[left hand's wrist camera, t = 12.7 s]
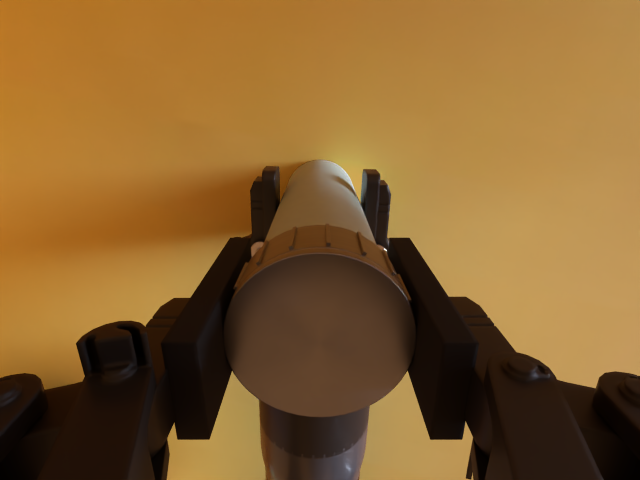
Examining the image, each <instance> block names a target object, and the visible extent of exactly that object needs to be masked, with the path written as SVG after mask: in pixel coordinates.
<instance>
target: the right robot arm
mask: <svg viewBox="0 0 640 480" xmlns="http://www.w3.org/2000/svg"><path fill="white" fill-rule="evenodd" d="M250 196H251V221H252V234H251V235H249V236H246V237H243V238H250V240H251V254H252V257H253V256H254V254H255V253H256V252H257V251H258V250H259V249H260V248H261V247H262V246H263V244H264V242H265V239H266V237H267V234H268V232H269V229H270V227H271V224H272V222H273V219H274V217H275V214H276V212H277V209H278V207H279V204H280V173H279V167H277V166H266V167H265V168H264V170H263V172H262V177H257V178H256V179H255V181H254V182H253V185H252V187H251V190H250ZM390 200H391V193H390V190H389V187H388V185H387V183H386V182H385V181H384V180H380V174H379V172H378V171H377V170H376V169H363V175H362V189H361V207H362V210H363V212H364V215H365V217H366V220H367V222H368V225H369V227H370V230H371V232H372V235H373V237H374V240H375V242H376V245H377V246H378V247H379V248H380V249H381V250H383V249H384V250H385V251H386V253H387V255H388V251H389V239H388V238H387V231H388V221H389V210H390ZM234 238H241V237H234ZM259 409H260V434H261V449H262V455H263V460H264V464H265V470H266V480H359V476H360V468H361V464H362V461H363V457H364V453H365V447H366V438H367V427H368V417H369V406H368V407H366V408H363V409H361V410H358V411H355V412H352V413H348V414H345V415H339V416H332V417H308V416H300V415H296V414H291V413H287V412H285V411H282V410H279V409H276V408H274V407H272V406H270V405H268V404H266V403H265V402H263V401H261V400H260V399H259Z"/></svg>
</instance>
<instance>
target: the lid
mask: <svg viewBox="0 0 640 480" xmlns="http://www.w3.org/2000/svg"><path fill="white" fill-rule="evenodd" d="M233 289H234V290H235V293H234V295H233V297H232V299H231V301H230V304H229V306H228V308H227V311H226V314H225V318H224V322H223V340H224V349H225V355H226V358H227V360H228V363H229V365H230V367H231V369H232V371H233V373H234V374H235V376H236V377H237V378H238V380H239V381H240V382H241V384H242V385H243V386H244V387H245V388H246V389H247V390H248V391H249V392H251V393H252V394H253V395H254V396H255V397H257V398H258V399H260V400H261V401H263V402H265V403H266V404H268V405H270V406H272V407H274V408H276V409H279V410H282V411H285V412H287V413H291V414H296V415H300V416H308V417H332V416H339V415H345V414H348V413H352V412H355V411H358V410H361V409H363V408H366V407H368V406H370V405H371V404H373V403H375V402H377V401H378V400H380V399H381V398H383V397H384V396H386V395H387V394H388V393H389V392H390V391H391V390H392V389H394V388H395V386H396V385H397V384H398V383H399V382H400V381H401V380H402V378H403V377H404V375H405V374H406V372H407V370H408V368H409V366H410V364H411V362H412V359H413V356H414V353H415V347H416V338H417V326H416V319H415V316H414V312H413V309H412V307H411V304H410V303H412V300H411V297H410V295H409V293H408V291H407V289H406V287H405V285H404V282H403V280H402V278H401V276H400V274H397V273H396V271H395V269H394V267H393V265H392V263H391V262H390V260H389V258H388V255H387V253H386V251H385V250H384V249H383V250H381V249H380V248H379V247H378V246H377V245H375V244H374V243H373V242H372V241H370V240H369V239H367V238H366V237H364V236H362V235H361V232H357V233H356V232H354V231H352V230H348V229H345V228H342V227H337V226H331V225H329V224H327V223H326V225H310V226H303V227H298V228H297V227H296V226H295V227H293V229H291V230H289V231H286V232H283V233H281V234H279V235H277V236H275V237H274V238H272V239H271V240H269V241H267V240H266V241H265V242H264V244H263V246H262V247H261V248H260V249H259V250H258V251H257V252H256V253H255V254H254V256H253V257H252V258H251V260H250V261H249V263H247V262H246V263H245V265H244V267H243V269H242V271H241V273H240V275H239V277H238V280H237V282H236V284H235V286H234V288H233Z"/></svg>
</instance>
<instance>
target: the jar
mask: <svg viewBox="0 0 640 480" xmlns="http://www.w3.org/2000/svg"><path fill="white" fill-rule="evenodd" d="M326 223H327V224H329V225H331V226H337V227H342V228H345V229H348V230H352V231H354V232H356V233H357V232H361V235H362V236H364V237H366V238H367V239H369V240H370V241H372V242H373V243H374V244H375V245H376V242H375V240H374V237H373V235H372V232H371V230H370V227H369V225H368V222H367V220H366V217H365V215H364V212H363V210H362V207H361V204H360V202H359V199H358V197H357V194H356V192H355V189H354V187H353V184H352V182H351V180H350V178H349V176H348V174H347V173H346V172H345V170H344V169H342V168H341V167H340V166H339V165H337V164H335V163H333V162H330V161H326V160H314V161H310V162H307V163H305V164H303V165H301V166H300V167H299V168H298V169H296V170H295V172H294V173H293V174H292V176H291V177H290V180H289V182H288V184H287V187H286V189H285V192H284V194H283V197H282V199H281V202H280V204H279V207H278V209H277V212H276V214H275V217H274V219H273V222H272V224H271V227H270V229H269V232H268V234H267V237H266V239H265V241H266V240H267V241H269V240H271V239H272V238H274V237H275V236H277V235H279V234H281V233H283V232H286V231H289V230H291V229H293V227H295V226H296V227H297V228H298V227H303V226H310V225H326Z"/></svg>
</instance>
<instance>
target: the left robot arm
mask: <svg viewBox="0 0 640 480" xmlns="http://www.w3.org/2000/svg"><path fill="white" fill-rule="evenodd" d="M251 258H252V254H251V240H250V238H230V239H229V241H228V242H227V244H226V245H225V247H224V248H223V250H222V251H221V253H220V254H219V256H218V257H217V259H216V260H215V262H214V263H213V265H212V266H211V268H210V269H209V271H208V272H207V274H206V275H205V277H204V278H203V280H202V281H201V283H200V284H199V286H198V287H197V289H196V290H195V292H194V293H193V295H192V296H191V298H173V299H172V300H170V301H169V302H167V303H166V304H164V305H162V306H161V307H160V308H159V309H158V311H157V312H156V313H155V314H154V316H153V319H151V320H150V321H149V322H148V323H147V325H146V327H145V326H144V325H143V324H141V323H139V322H134V321H118V322H114V323H109V324H105V325H103V326H100V327H98V328H95V329H93V330H91V331H90V332H88V333H87V334H85V335H83V336H82V337H81V338H80V339H79V341H78V342H77V343H76V345H77V349H78V353H79V356H80V360H81V364H82V367H83V371H84V375H85V377H84V380H83V382H79V383H76V384H71V385H66V386H62V387H57V388H52V389H47V390H44V387H43V384H42V381H41V379H40V378H39V377H37V376H36V375H34V374H26V373H23V374H16V375H10V376H5V377H3V378H0V480H167V471H168V463H169V455H170V454H169V447H168V441H167V437H168V435H169V433H170V431H171V428H172V426H173V424H174V422H175V428H176V433H177V439H178V440H197V439H210V436H211V433H212V430H213V427H214V424H215V421H216V418H217V415H218V412H219V409H220V406H221V403H222V400H223V397H224V393H225V390H226V387H227V384H228V381H229V378H230V375H231V372H232V369H231V367H230V365H229V363H228V360H227V358H226V355H225V349H224V340H223V322H224V318H225V314H226V311H227V308H228V306H229V304H230V301H231V299H232V297H233V295H234V293H235V290H234V289H233V288H234V286H235V284H236V282H237V280H238V277H239V275H240V273H241V271H242V269H243V267H244V265H245V263H246V262H247V263H249V261H250V260H251ZM388 258H389V260H390V262H391V263H392V265H393V267H394V269H395V271H396V273H397V274H400V276H401V278H402V280H403V282H404V285H405V287H406V289H407V291H408V293H409V295H410V297H411V300H412V303H410V304H411V307H412V309H413V312H414V316H415V319H416V326H417V338H416V347H415V353H414V356H413V359H412V362H411V364H410V366H409V368H408V373H409V376H410V379H411V382H412V385H413V388H414V391H415V394H416V397H417V400H418V403H419V406H420V409H421V412H422V415H423V419H424V422H425V425H426V428H427V431H428V434H429V437H430V440H462V438H463V432H464V426H465V421H466V423H467V425H468V427H469V429H470V431H471V434H472V436H473V441H472V446H471V452H470V457H469V462H468V468H467V474H466V478H467V479H471V477H472V472H473V479H474V480H640V376H637V375H634V374H630V373H623V372H608V373H604V374H603V375H602V376H601V377H599V380H598V383H597V386H596V388H591V387H586V386H581V385H577V384H572V383H567V382H563V381H559V380H557V379H556V377H555V375H554V374H553V372H552V371H551V370H550V369H549V367H547V366H546V365H544V364H543V363H542V362H540V361H539V360H537V359H535V358H532V357H530V356H528V355H525V354H521V353H517V352H516V351H515V350H514V349H513V348H512V346H511V345H510V344H509V342H508V341H507V340H506V339H505V337H504V336H503V335H502V334H501V332H500V331H499V330H498V328H497V327H496V326H494V323H493V322H492V321H491V320H490V318H488V317H487V314H486V313H485V312H484V311H483V309H482V308H481V307H480V306H479V305H478V304H476V303H475V302H473V301H472V300H470V299H468V298H467V297H448V295H447V294H446V292H445V291H444V289H443V288H442V286H441V285H440V283H439V282H438V280H437V279H436V277H435V276H434V274H433V273H432V271H431V270H430V268H429V267H428V265H427V264H426V262H425V261H424V259H423V258H422V256H421V255H420V253H419V252H418V250H417V249H416V247H415V246H414V244H413V243H412V241H411V240H410V238H389V251H388Z"/></svg>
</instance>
